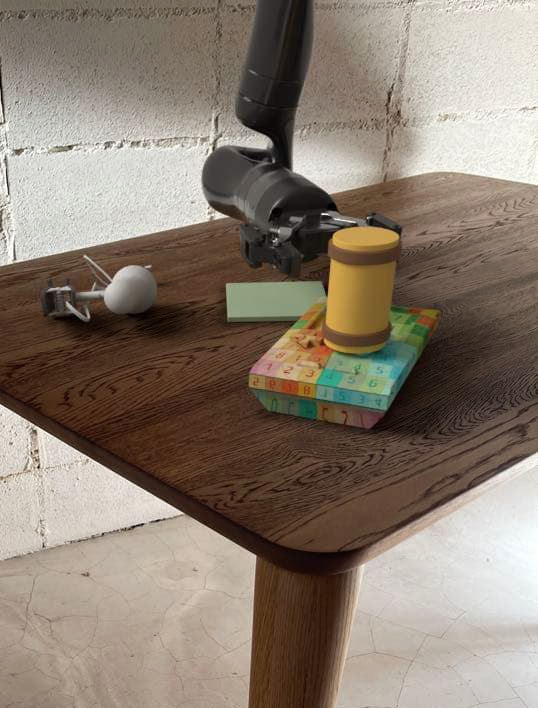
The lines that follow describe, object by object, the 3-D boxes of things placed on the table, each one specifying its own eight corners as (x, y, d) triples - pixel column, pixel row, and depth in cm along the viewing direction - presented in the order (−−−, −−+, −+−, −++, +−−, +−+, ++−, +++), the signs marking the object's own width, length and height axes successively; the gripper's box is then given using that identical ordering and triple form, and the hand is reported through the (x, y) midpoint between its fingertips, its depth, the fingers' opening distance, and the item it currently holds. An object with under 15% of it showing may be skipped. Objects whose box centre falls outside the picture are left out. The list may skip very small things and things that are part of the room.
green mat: (321, 286, 101) (321, 280, 101) (332, 320, 92) (332, 315, 92) (226, 288, 102) (226, 283, 102) (227, 322, 93) (227, 317, 93)
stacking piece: (383, 328, 77) (396, 224, 72) (394, 354, 72) (409, 245, 67) (317, 329, 78) (325, 226, 73) (324, 355, 73) (333, 247, 68)
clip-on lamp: (78, 309, 107) (34, 331, 91) (71, 254, 105) (25, 267, 88) (172, 301, 104) (145, 322, 88) (168, 245, 102) (139, 257, 86)
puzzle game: (248, 362, 72) (321, 287, 87) (247, 413, 75) (318, 332, 90) (390, 385, 68) (442, 301, 82) (383, 438, 70) (434, 348, 85)
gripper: (220, 182, 85) (266, 225, 72) (360, 170, 87) (430, 210, 74) (220, 259, 90) (263, 313, 76) (352, 246, 91) (417, 297, 78)
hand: (345, 262), depth 75 cm, fingers open, 8 cm apart
